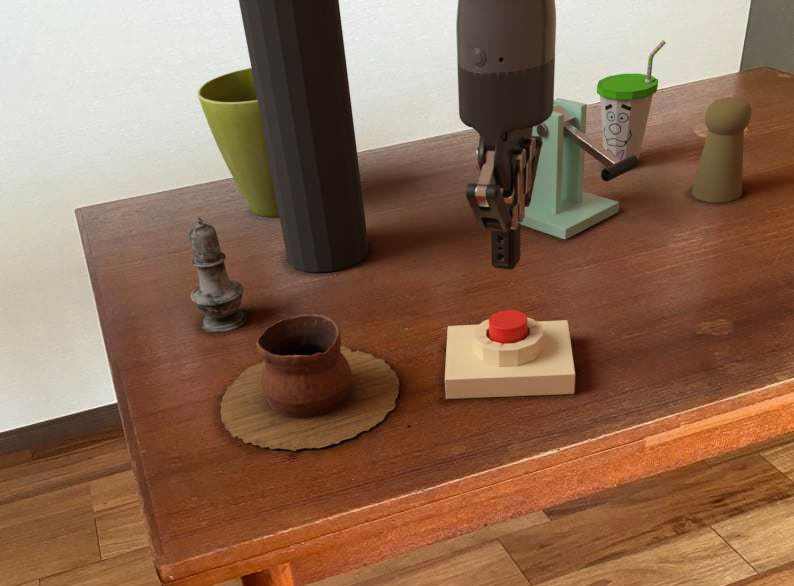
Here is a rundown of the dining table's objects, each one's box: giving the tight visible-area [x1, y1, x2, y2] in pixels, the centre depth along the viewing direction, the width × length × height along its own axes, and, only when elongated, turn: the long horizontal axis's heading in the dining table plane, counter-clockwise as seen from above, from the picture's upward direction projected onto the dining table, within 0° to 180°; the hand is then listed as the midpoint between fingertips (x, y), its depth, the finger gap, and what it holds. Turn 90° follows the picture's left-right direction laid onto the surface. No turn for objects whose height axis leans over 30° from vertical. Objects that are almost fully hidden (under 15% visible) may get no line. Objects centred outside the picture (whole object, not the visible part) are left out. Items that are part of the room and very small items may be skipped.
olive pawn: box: [691, 96, 753, 203], centre depth 108 cm, size 6×6×11 cm
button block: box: [444, 317, 576, 400], centre depth 86 cm, size 12×10×4 cm
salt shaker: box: [188, 216, 248, 334], centre depth 96 cm, size 6×6×12 cm
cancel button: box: [488, 309, 528, 344], centre depth 84 cm, size 4×4×2 cm
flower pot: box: [197, 67, 279, 218], centre depth 118 cm, size 15×15×16 cm
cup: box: [596, 39, 667, 161], centre depth 117 cm, size 8×8×15 cm
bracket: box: [519, 97, 620, 241], centre depth 108 cm, size 12×10×13 cm
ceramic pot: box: [219, 313, 401, 452], centre depth 84 cm, size 18×18×7 cm
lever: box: [553, 105, 639, 182], centre depth 103 cm, size 12×5×2 cm, turn 41°
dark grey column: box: [238, 0, 370, 274], centre depth 100 cm, size 10×10×30 cm
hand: (506, 264), depth 80 cm, fingers closed
